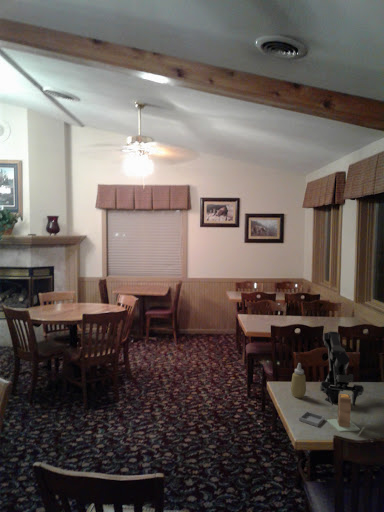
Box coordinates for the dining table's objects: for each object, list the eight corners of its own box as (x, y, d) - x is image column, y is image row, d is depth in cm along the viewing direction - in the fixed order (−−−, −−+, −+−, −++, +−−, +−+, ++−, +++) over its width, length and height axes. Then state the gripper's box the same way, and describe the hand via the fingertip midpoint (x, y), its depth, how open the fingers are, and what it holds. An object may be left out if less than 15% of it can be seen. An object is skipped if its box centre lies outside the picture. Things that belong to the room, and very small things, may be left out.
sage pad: (327, 421, 179) (327, 419, 179) (346, 420, 181) (346, 418, 181) (339, 432, 169) (339, 430, 169) (359, 431, 171) (360, 428, 171)
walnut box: (337, 421, 177) (338, 393, 177) (347, 422, 176) (349, 394, 176) (338, 425, 173) (340, 397, 172) (349, 427, 172) (351, 398, 171)
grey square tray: (306, 415, 185) (306, 411, 185) (324, 420, 179) (324, 416, 179) (299, 421, 178) (299, 417, 178) (317, 427, 173) (317, 423, 173)
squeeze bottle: (288, 393, 210) (289, 360, 209) (302, 393, 211) (303, 360, 209) (293, 399, 202) (294, 366, 201) (308, 399, 203) (309, 366, 201)
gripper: (322, 364, 183) (324, 397, 173) (364, 368, 179) (368, 402, 169) (319, 374, 191) (320, 406, 181) (359, 378, 187) (363, 411, 177)
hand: (343, 406), depth 177 cm, fingers open, 9 cm apart
